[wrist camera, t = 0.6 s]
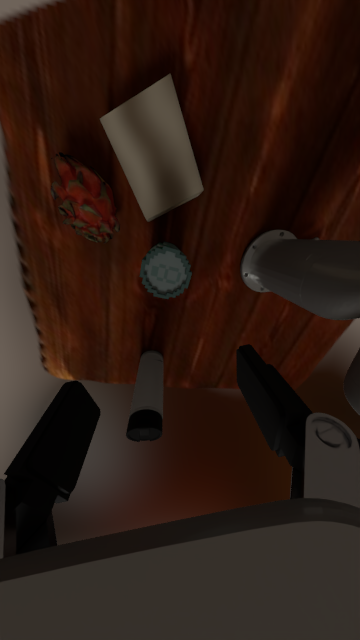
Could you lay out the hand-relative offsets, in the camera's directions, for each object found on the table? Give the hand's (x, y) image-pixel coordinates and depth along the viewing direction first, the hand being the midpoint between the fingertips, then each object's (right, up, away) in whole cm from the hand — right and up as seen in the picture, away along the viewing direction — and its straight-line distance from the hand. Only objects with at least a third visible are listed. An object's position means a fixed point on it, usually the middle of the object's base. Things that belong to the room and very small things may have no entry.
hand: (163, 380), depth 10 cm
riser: (-3, +28, +16) cm, 33 cm away
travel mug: (-7, -7, +35) cm, 37 cm away
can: (-2, +16, +23) cm, 28 cm away
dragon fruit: (-14, +24, +18) cm, 33 cm away
